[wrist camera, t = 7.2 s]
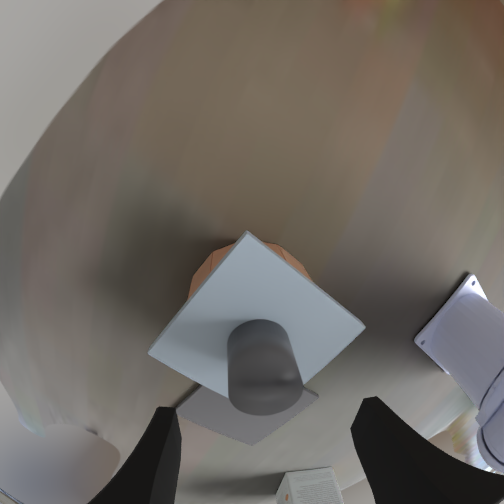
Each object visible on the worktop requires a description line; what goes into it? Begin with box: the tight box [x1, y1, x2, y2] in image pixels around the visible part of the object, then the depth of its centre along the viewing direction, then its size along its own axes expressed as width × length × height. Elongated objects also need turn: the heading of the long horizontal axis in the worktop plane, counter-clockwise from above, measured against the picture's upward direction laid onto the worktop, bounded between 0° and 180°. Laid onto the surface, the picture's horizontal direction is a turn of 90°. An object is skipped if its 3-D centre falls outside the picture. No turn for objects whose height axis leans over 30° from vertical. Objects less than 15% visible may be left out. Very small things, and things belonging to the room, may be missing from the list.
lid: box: [147, 230, 366, 416], centre depth 14 cm, size 8×8×4 cm
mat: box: [176, 385, 319, 446], centre depth 23 cm, size 9×9×1 cm
